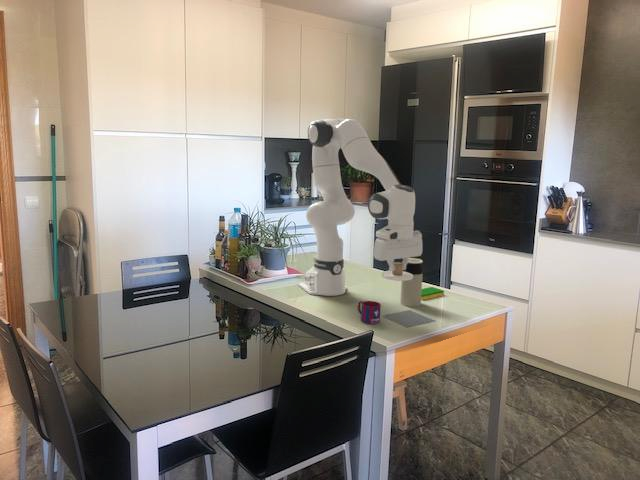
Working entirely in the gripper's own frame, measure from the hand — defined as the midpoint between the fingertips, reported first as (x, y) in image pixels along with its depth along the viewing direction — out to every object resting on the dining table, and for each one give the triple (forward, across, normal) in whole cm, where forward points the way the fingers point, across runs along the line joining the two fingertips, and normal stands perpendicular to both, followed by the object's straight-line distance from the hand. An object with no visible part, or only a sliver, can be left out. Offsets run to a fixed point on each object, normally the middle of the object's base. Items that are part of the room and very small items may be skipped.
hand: (397, 270), depth 184 cm
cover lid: (+2, 0, 0) cm, 2 cm away
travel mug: (+19, -18, -11) cm, 28 cm away
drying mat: (+18, -5, +2) cm, 19 cm away
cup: (+19, +9, -4) cm, 21 cm away
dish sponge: (+19, -33, -17) cm, 42 cm away
